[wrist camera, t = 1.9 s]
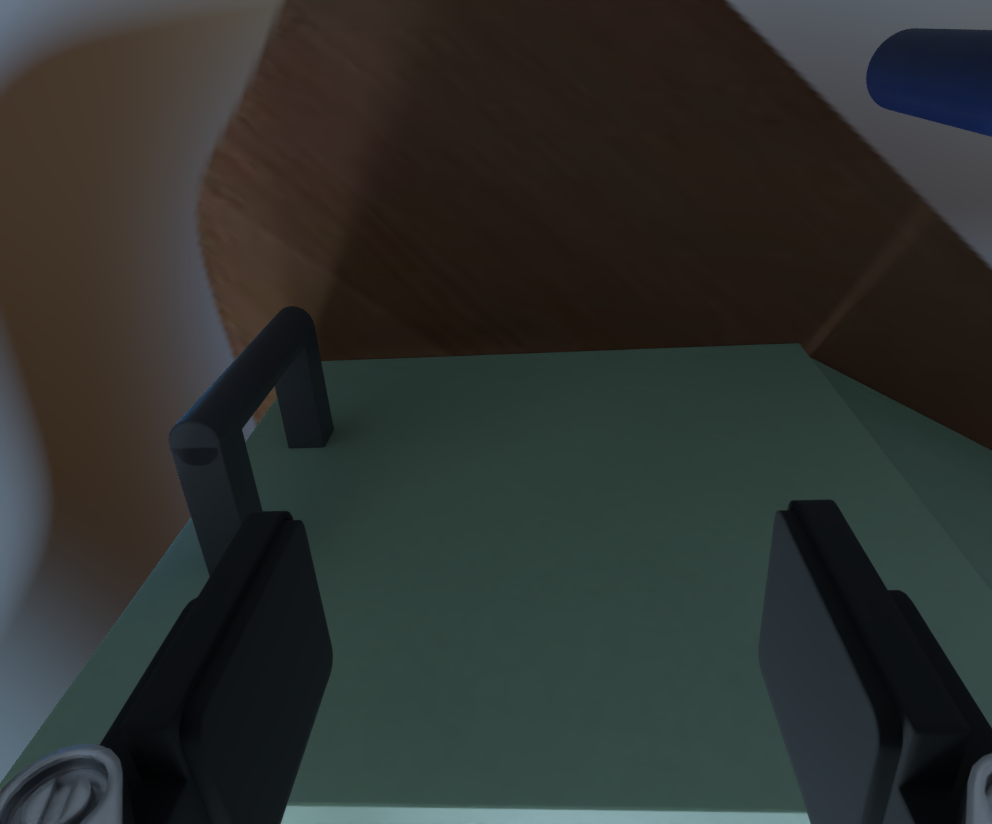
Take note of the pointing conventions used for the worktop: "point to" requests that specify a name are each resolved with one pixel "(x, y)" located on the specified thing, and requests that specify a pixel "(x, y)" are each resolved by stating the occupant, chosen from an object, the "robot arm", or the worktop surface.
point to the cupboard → (931, 466)
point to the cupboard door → (534, 573)
